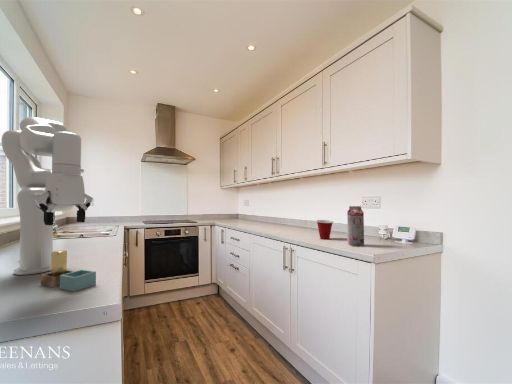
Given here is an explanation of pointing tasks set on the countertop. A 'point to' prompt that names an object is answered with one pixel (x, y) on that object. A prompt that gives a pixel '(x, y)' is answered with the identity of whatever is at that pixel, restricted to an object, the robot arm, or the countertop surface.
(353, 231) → the juice carton
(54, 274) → the gold domed peg
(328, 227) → the plastic cup
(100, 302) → the countertop surface
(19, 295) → the countertop surface
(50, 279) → the socket block
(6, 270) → the countertop surface
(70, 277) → the block
